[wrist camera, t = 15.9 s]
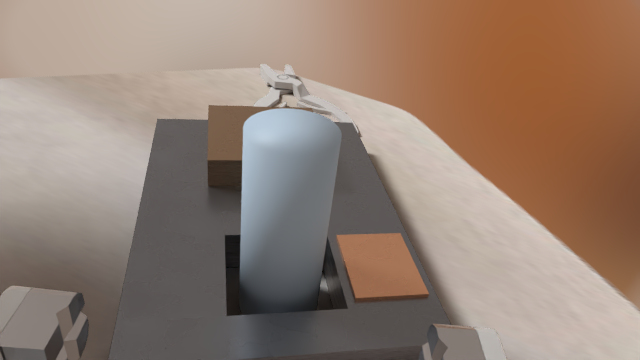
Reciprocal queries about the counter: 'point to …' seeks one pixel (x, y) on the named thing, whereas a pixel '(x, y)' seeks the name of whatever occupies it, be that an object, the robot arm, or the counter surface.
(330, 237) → the rack
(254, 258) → the peg
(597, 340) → the counter surface
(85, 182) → the counter surface
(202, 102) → the counter surface
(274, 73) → the pliers
